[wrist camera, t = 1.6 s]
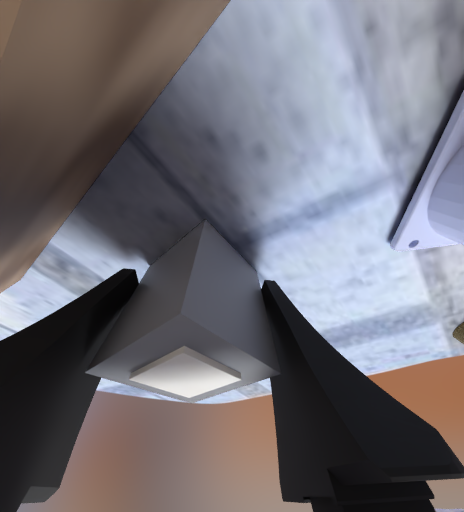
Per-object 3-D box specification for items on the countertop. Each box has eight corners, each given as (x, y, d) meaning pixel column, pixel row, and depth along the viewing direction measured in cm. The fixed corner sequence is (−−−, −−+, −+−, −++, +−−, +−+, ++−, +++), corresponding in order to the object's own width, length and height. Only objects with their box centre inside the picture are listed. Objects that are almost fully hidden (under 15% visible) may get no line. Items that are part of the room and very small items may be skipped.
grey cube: (205, 218, 9) (178, 321, 4) (256, 272, 11) (282, 380, 6) (150, 265, 11) (80, 379, 6) (204, 303, 13) (190, 408, 8)
